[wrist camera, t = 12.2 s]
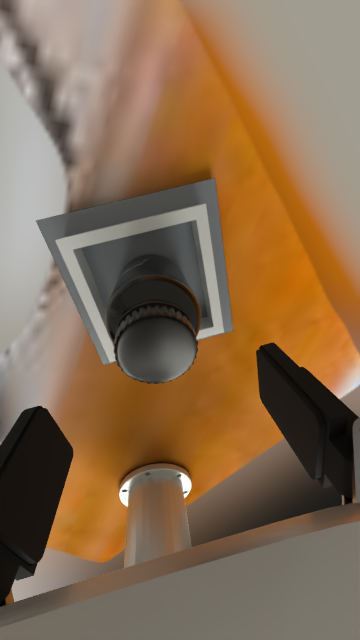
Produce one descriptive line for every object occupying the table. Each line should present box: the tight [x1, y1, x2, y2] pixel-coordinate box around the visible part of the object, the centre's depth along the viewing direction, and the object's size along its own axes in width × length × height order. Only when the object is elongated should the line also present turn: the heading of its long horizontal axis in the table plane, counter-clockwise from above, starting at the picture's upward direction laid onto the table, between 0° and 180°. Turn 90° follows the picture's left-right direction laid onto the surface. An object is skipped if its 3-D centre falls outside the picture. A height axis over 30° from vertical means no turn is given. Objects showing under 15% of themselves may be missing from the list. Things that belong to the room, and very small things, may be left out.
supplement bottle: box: [105, 254, 201, 384], centre depth 18 cm, size 7×7×12 cm
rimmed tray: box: [36, 178, 233, 365], centre depth 22 cm, size 16×16×4 cm
